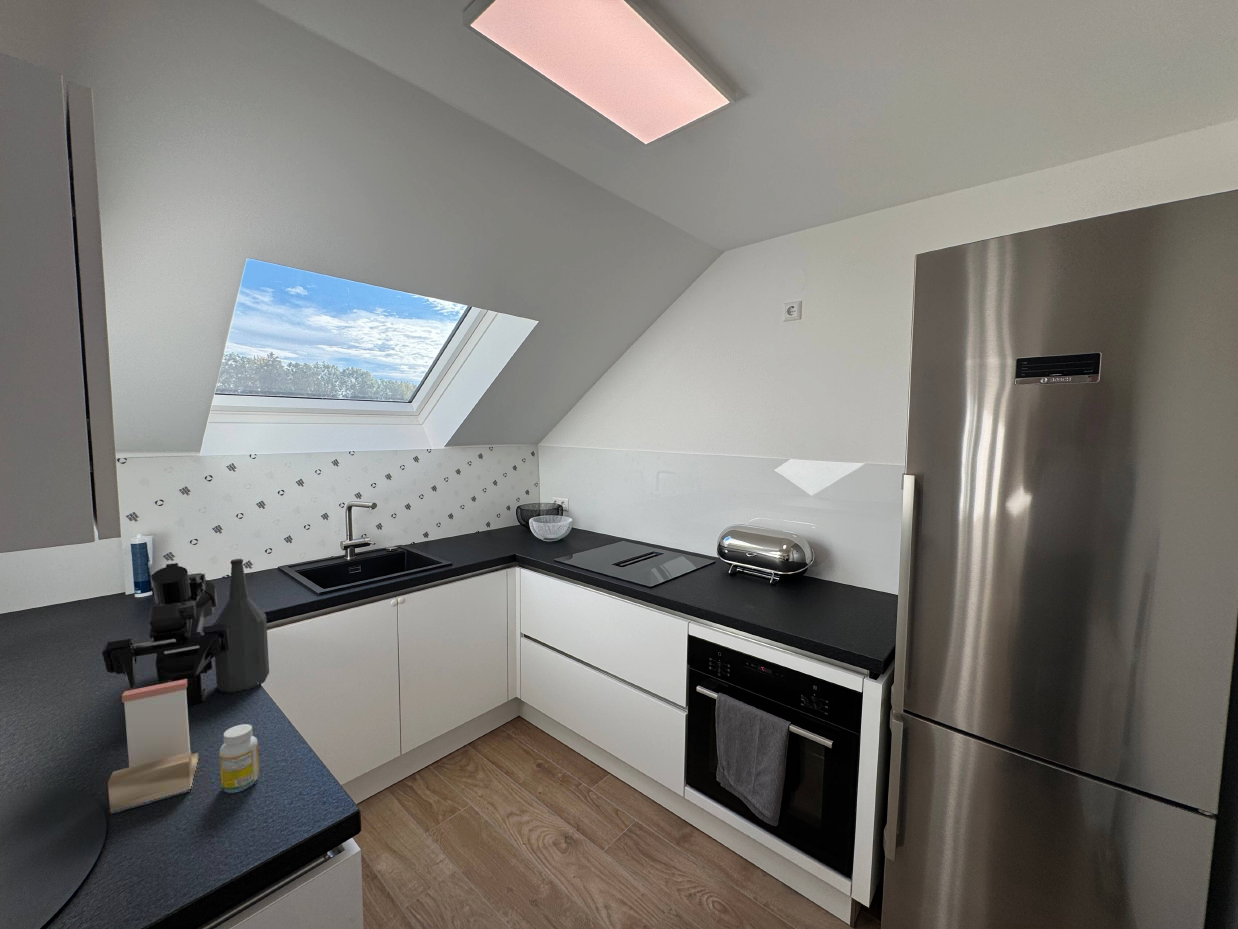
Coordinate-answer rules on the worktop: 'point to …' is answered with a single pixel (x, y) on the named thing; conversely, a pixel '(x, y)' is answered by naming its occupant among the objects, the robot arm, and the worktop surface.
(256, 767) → the supplement bottle
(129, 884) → the worktop surface
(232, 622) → the bottle
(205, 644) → the robot arm
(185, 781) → the oak key housing
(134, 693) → the white red-topped panel
